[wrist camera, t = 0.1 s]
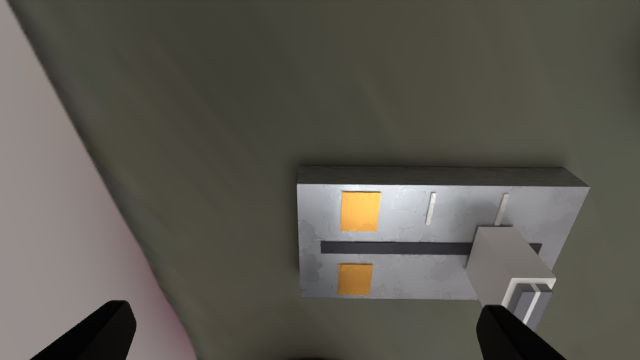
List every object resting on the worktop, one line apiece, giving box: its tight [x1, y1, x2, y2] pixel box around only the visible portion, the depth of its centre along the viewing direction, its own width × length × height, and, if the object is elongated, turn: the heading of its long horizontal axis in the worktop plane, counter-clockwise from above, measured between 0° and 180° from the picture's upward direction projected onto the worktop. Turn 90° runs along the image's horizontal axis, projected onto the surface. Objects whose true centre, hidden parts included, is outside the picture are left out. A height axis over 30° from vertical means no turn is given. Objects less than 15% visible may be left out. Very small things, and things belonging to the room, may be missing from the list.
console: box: [297, 166, 590, 300], centre depth 24 cm, size 10×18×3 cm, turn 90°
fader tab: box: [465, 227, 557, 331], centre depth 21 cm, size 4×2×5 cm, turn 0°
